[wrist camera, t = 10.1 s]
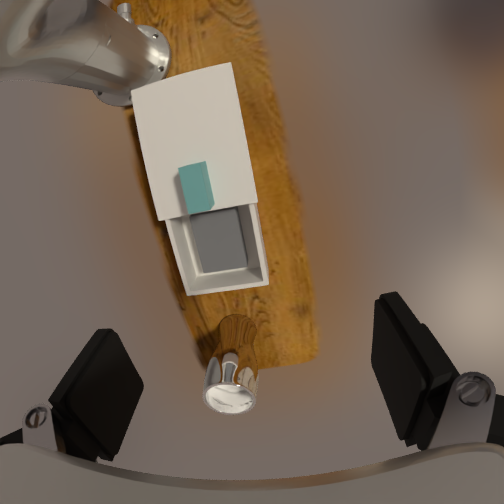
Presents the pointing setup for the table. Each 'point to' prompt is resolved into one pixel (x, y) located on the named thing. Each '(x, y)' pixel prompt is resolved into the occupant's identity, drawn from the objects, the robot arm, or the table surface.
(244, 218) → the mailer box
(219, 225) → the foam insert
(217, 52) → the table surface
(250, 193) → the box lid
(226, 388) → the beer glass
